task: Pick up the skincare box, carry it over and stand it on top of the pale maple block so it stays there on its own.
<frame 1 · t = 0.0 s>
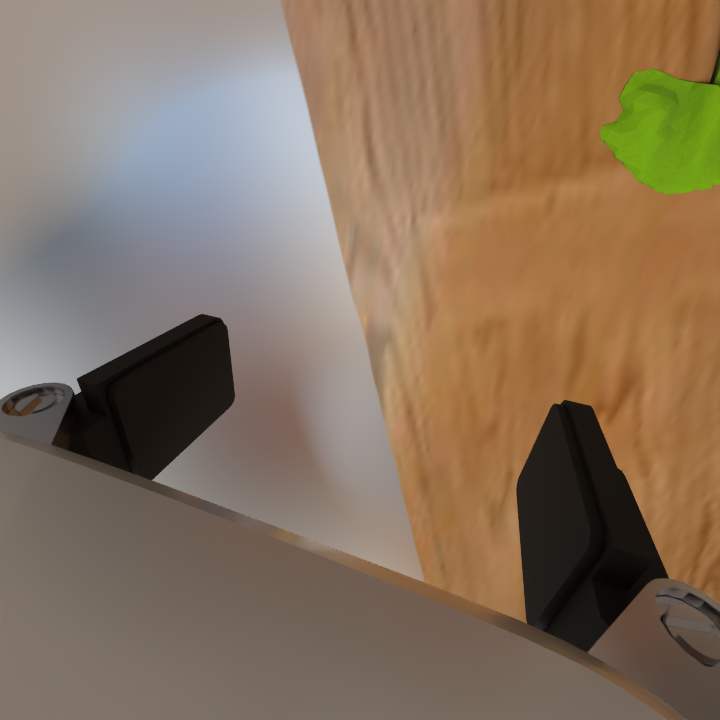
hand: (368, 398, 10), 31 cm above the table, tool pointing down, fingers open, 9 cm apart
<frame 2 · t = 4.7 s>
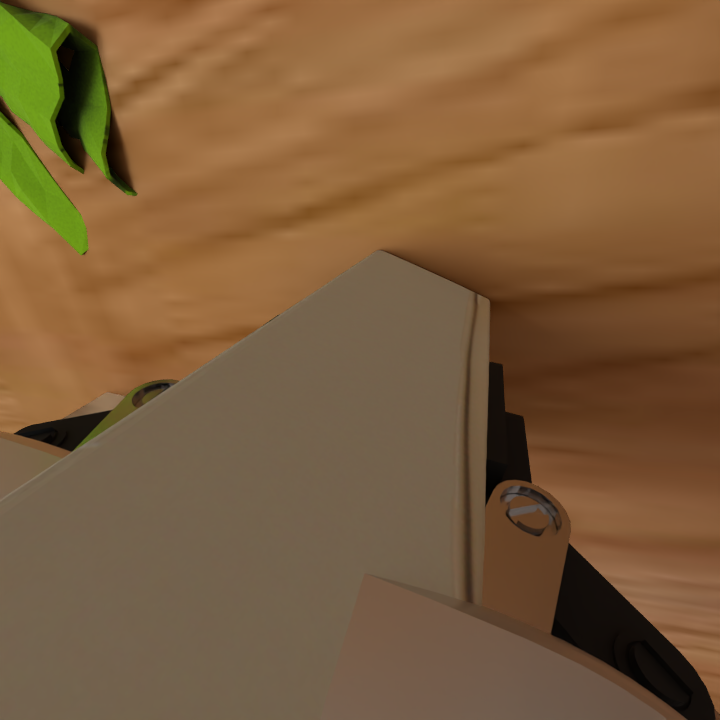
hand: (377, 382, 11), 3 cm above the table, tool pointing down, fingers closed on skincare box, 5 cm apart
maple block: (199, 471, 22), on the table
skincare box: (398, 339, 14), on the table, touching gripper
when the fingers open (10 cm above the table, at t = 9.1 s): skincare box drops 1 cm, resting on maple block.
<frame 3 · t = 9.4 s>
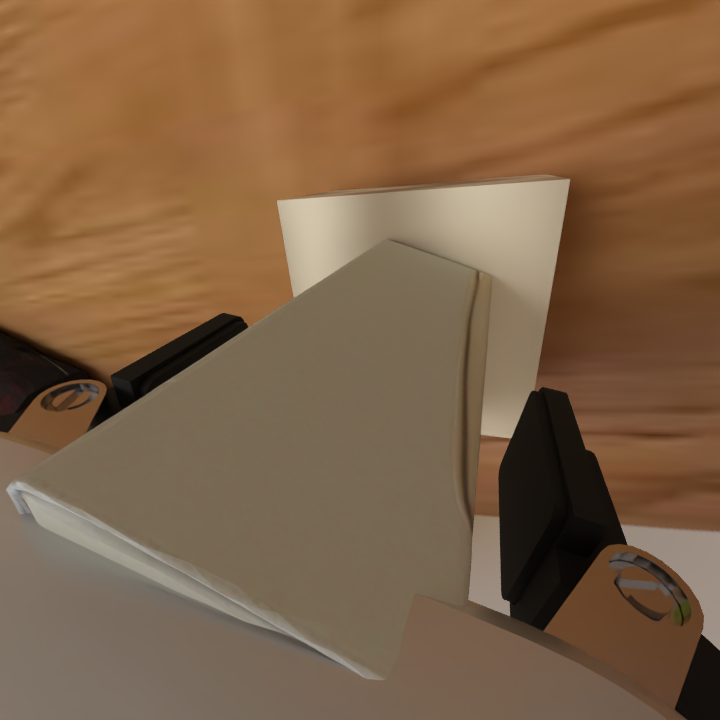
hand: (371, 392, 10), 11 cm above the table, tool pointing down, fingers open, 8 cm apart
maple block: (429, 284, 19), on the table, touching skincare box
skincare box: (409, 321, 14), point 6 cm above the table, touching maple block
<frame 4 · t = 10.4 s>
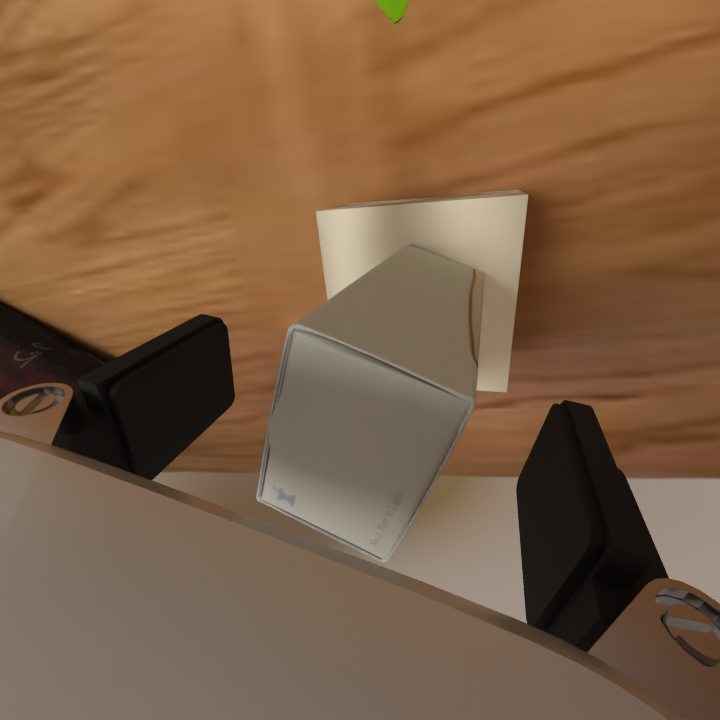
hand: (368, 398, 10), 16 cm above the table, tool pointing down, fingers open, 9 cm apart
maple block: (428, 277, 24), on the table, touching skincare box
skincare box: (422, 307, 19), point 5 cm above the table, touching maple block
packaged item: (21, 337, 41), on the table
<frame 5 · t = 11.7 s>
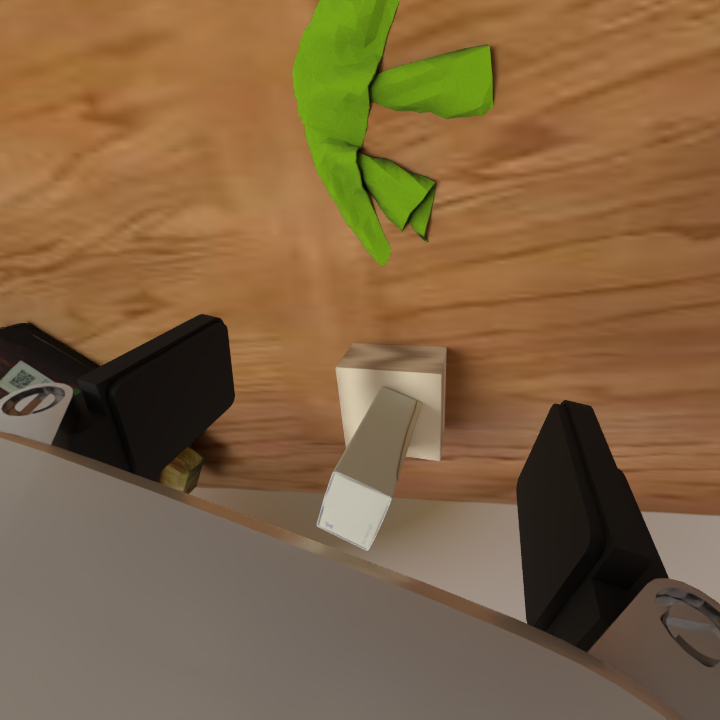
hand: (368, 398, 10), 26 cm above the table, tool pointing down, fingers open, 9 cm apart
maple block: (400, 384, 40), on the table, touching skincare box
cloth: (402, 142, 30), on the table
skincare box: (392, 415, 35), point 6 cm above the table, touching maple block
packaged item: (111, 391, 56), on the table
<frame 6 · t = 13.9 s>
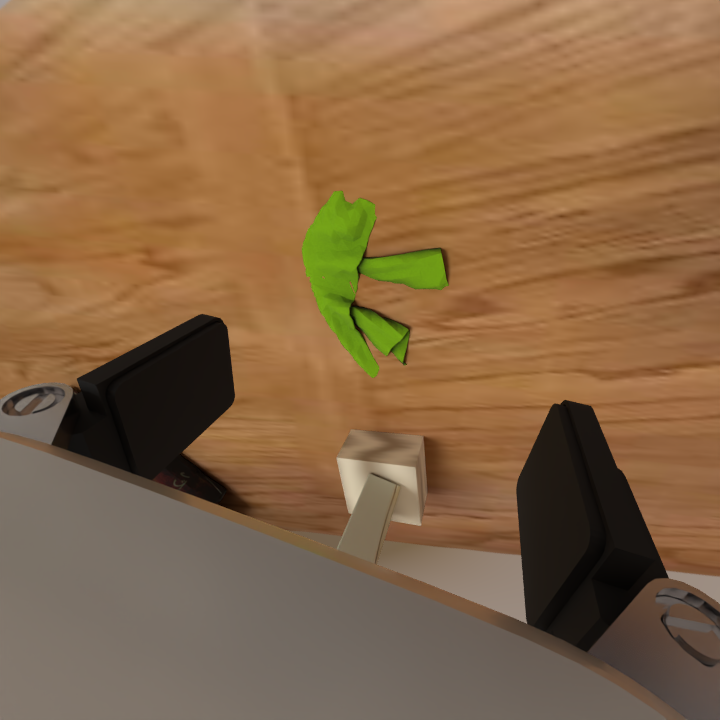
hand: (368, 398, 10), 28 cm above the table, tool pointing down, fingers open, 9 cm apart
maple block: (390, 459, 50), on the table, touching skincare box
cloth: (384, 297, 40), on the table
skincare box: (380, 491, 45), point 6 cm above the table, touching maple block
packaged item: (157, 448, 68), on the table
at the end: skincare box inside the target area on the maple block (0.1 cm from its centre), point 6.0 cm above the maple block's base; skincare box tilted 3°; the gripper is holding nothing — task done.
